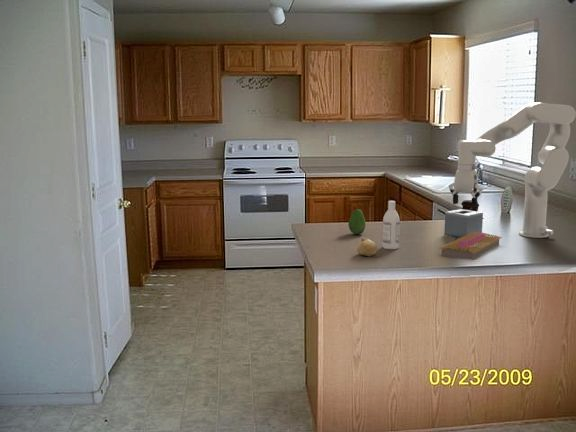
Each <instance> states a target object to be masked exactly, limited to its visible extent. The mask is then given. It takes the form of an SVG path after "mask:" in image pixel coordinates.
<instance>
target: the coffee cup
mask: <svg viewBox="0 0 576 432" xmlns="http://www.w3.org/2000/svg"><path fill="white" fill-rule="evenodd" d="M471 202H472V199H463V201H461V203H460V204H461V206H462V207H461V209H463V210H470V211H477V212H479V207H480V204H479V203H478V202H479V201H477V205H476V206H474V207H472V206H471Z"/></svg>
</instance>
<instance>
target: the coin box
mask: <svg viewBox="0 0 576 432" xmlns="http://www.w3.org/2000/svg"><path fill="white" fill-rule="evenodd" d="M444 213H445V214H444V232H443V233H444V235H443V236H445V235H446V236H445V237H450V236H451V238H456V239H459V238H461V237H463V236H465V235H467V234H469V233H477V232H482V233H483V224H484V223H483V218H484V212H483V211H478V212H477V211H470V210H463V209H462V208H458V209H455V210H454V209H453V210H449V211H445V212H444Z"/></svg>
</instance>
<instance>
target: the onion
mask: <svg viewBox="0 0 576 432" xmlns="http://www.w3.org/2000/svg"><path fill="white" fill-rule="evenodd" d="M377 250H378V246H377V244H376V242H374V241H373V240H371V239H369V238H367V237H365V238H364V237H362V238H361V239H360V242H359V243H357V247H356V251H357V252H358V254H359V255H361V256H365V257H372V256H374V255H375V254H376V253H377V252H378V251H377Z"/></svg>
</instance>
